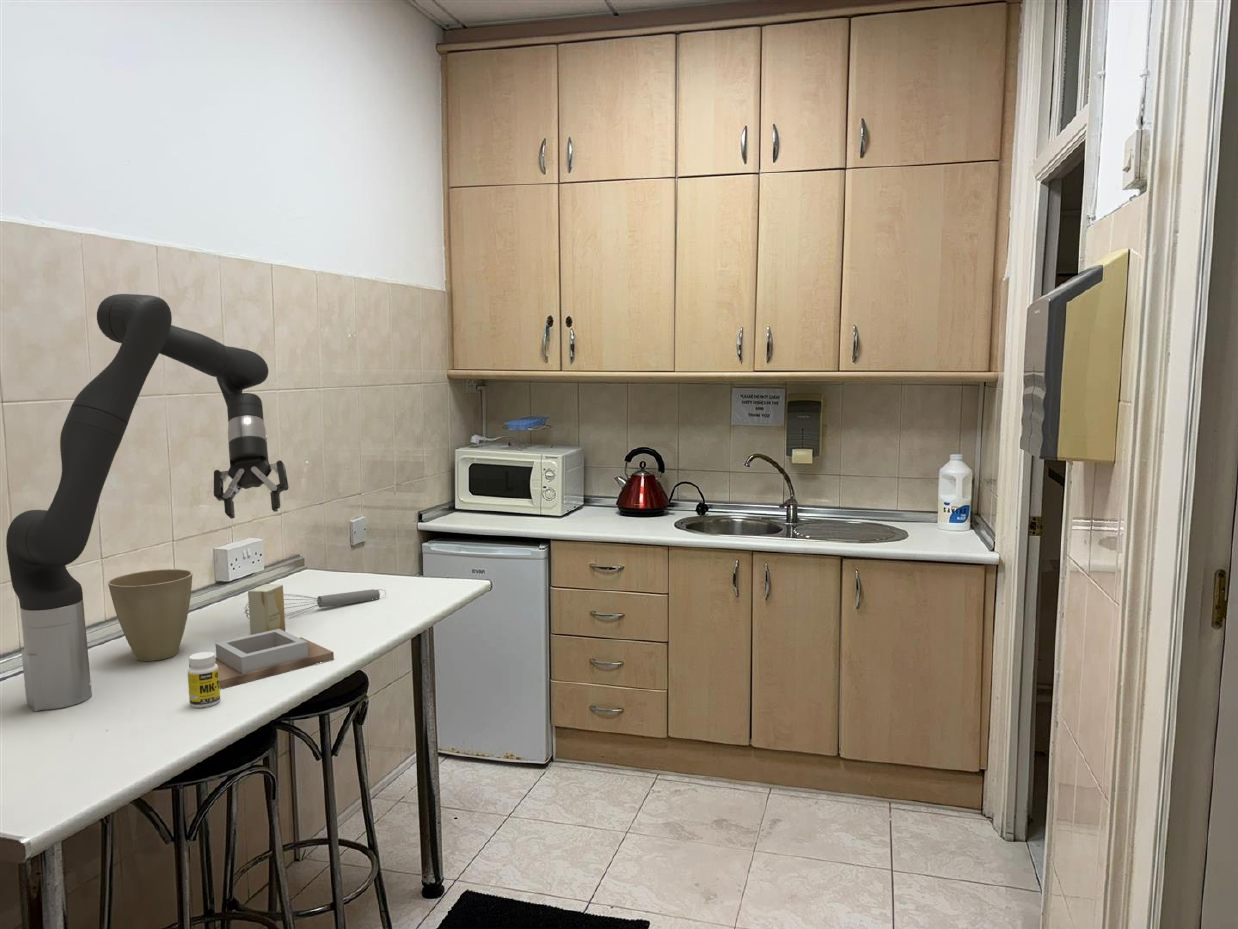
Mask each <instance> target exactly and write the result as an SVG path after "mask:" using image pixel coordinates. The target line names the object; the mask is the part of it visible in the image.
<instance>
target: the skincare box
mask: <svg viewBox="0 0 1238 929" xmlns="http://www.w3.org/2000/svg"><path fill="white" fill-rule="evenodd" d="M247 594H248V595H247V596H248V602H249V603H248V604H249V605H248V606H249V607H248V610H249V611H248V614H249V615H248V617H249V618H250V619H249V630H250V635H254V634H258V633H262V632H267V631H271V630H276V629H281V630H283V631H285V632H286V622H285V621H286V620H285V619H286V615H284V614H285V609H284V608H285V605H284V604H285V600H284V599H285V598H284V597H285V596H283V595H284V585H283V584H270V583H269V584H268V583H266V584H262V585H260V586H257V587H254V588H253V589H250V590H248V591H247Z"/></svg>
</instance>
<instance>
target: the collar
mask: <svg viewBox="0 0 1238 929" xmlns="http://www.w3.org/2000/svg"><path fill="white" fill-rule="evenodd" d="M214 644H215V646H214V647H215V657H216V658H217V659H218V660H220V661H222V662H223V663H225V664H227V665H229V666H230V667H232V668H234V669H236V670H237V671H239V672H241V673H242V674H243V673H247V672H251V671H255V670H259V669H263V668H267V667H271V666H275V665H279V664H283V663H287V662H291V661H295V660H299V659H303V658H307V657H308V644H307V641H305V640H302V639H300V637H298V636H296V635H294V634H291V633H289V632H287V631H286V630H285V631H283V630H281V629H276V630H271V631H267V632H262V633H258V634H254V635H251V634H250V635H246V636H241V637H236V638H233V639H227V640H223V641H218V642H215V643H214ZM272 647H273V648H272ZM268 648H269V649H268ZM264 649H265V650H264ZM251 652H252V653H251ZM247 653H248V654H247Z"/></svg>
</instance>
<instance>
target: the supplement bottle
mask: <svg viewBox="0 0 1238 929" xmlns="http://www.w3.org/2000/svg"><path fill="white" fill-rule="evenodd" d="M215 657H216V653H214V652H212V651H203V652H197V653H193V654H192V655H190V656H189V657H188V658H189V660H188V662H189V663H188V664H190V666H191V667H190V668H189V667H188V669H187V681H188V682H187V683H188V696H189V697H188V698H189V699H188V700H189V705H190V707H192V708H197V709H198V708H203V707H204V708H208V707H212V706H215V705H217V704H218V703H219V702H220V700H221V692H220V691H221V689H220V688H219V672H218V665H217V664H215V660H216V659H215Z"/></svg>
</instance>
